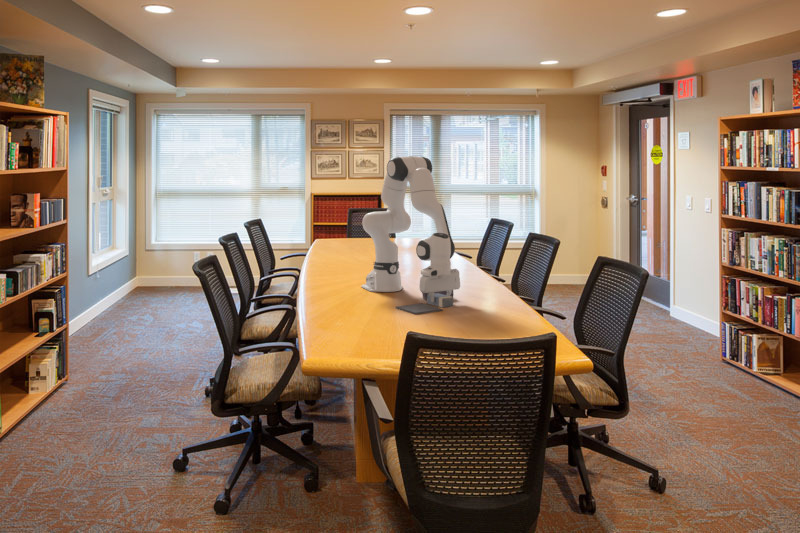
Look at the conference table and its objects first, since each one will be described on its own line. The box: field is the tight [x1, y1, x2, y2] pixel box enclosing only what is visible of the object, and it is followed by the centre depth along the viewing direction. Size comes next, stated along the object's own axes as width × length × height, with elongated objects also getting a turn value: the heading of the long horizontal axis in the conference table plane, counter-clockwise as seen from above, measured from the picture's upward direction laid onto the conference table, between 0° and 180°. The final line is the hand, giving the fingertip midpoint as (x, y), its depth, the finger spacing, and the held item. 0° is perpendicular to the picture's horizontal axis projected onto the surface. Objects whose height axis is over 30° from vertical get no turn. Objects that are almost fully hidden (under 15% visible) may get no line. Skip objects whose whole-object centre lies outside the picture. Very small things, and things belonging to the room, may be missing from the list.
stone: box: [421, 290, 454, 301], centre depth 315 cm, size 10×6×15 cm
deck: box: [426, 293, 454, 309], centre depth 302 cm, size 11×6×4 cm, turn 34°
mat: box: [395, 302, 443, 315], centre depth 292 cm, size 15×14×1 cm
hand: (440, 301), depth 302 cm, fingers closed on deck, 6 cm apart
